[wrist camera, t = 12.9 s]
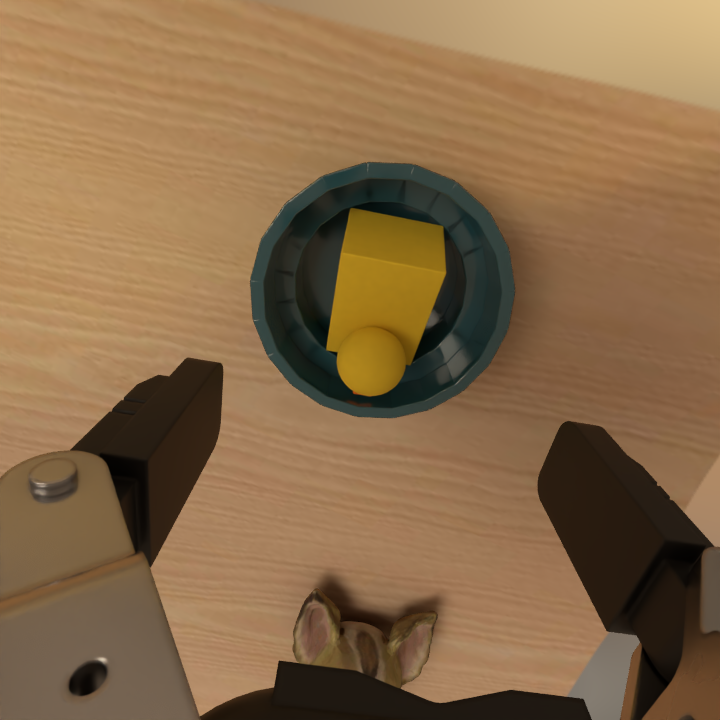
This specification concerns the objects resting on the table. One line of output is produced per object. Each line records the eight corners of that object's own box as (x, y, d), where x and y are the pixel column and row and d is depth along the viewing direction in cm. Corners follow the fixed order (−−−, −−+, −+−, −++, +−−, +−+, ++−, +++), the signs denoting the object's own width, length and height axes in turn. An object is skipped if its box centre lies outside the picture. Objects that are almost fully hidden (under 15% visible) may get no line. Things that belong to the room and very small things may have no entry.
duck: (350, 206, 20) (330, 301, 16) (443, 225, 20) (449, 323, 16) (332, 319, 25) (314, 413, 21) (406, 332, 26) (403, 428, 21)
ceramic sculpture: (251, 808, 31) (294, 670, 26) (272, 681, 39) (309, 557, 34) (394, 828, 32) (463, 699, 27) (386, 701, 40) (438, 583, 35)
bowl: (243, 200, 23) (208, 211, 18) (463, 132, 21) (491, 122, 16) (313, 389, 27) (300, 440, 22) (498, 344, 26) (529, 387, 21)
